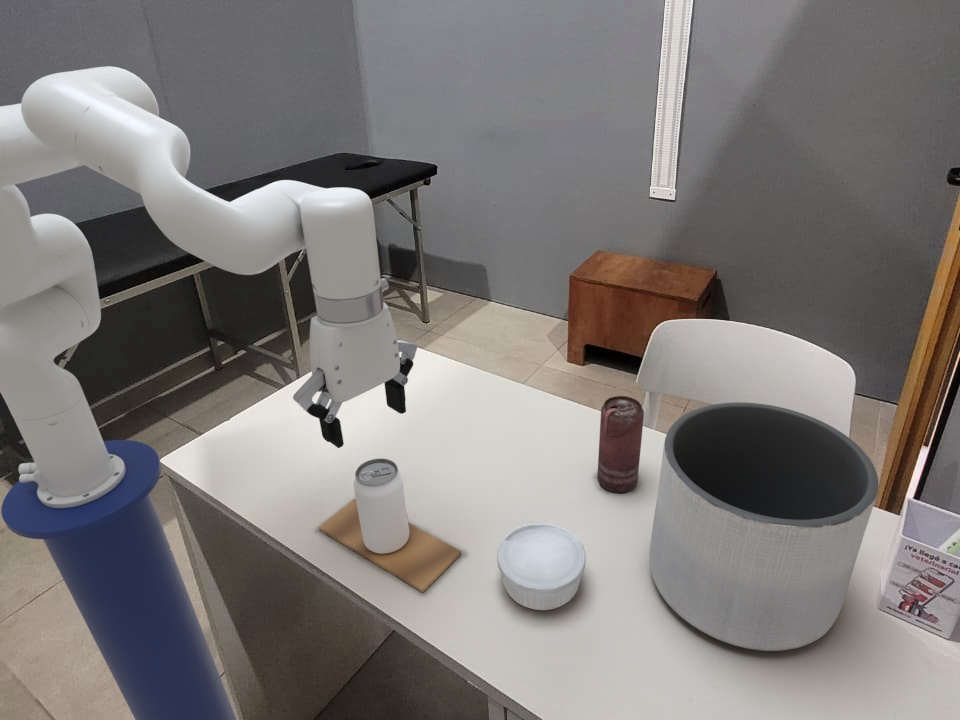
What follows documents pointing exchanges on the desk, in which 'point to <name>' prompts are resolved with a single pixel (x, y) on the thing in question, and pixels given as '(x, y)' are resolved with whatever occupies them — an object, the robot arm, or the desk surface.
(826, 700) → the desk surface
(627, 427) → the can
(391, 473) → the can
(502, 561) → the ramekin
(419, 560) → the board
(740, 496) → the planter
